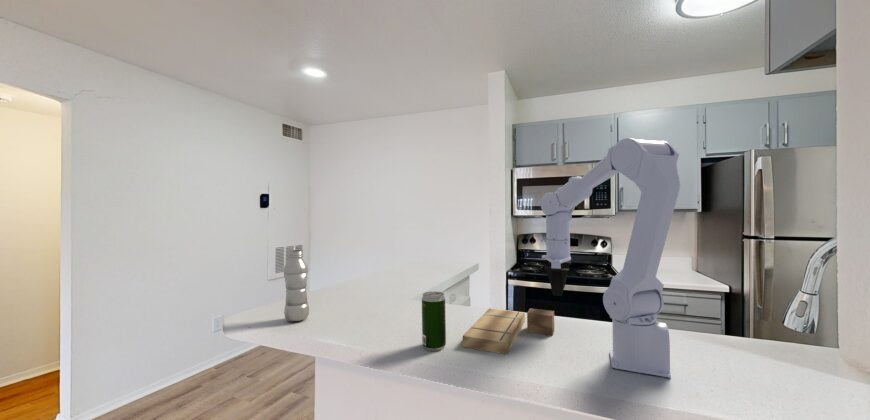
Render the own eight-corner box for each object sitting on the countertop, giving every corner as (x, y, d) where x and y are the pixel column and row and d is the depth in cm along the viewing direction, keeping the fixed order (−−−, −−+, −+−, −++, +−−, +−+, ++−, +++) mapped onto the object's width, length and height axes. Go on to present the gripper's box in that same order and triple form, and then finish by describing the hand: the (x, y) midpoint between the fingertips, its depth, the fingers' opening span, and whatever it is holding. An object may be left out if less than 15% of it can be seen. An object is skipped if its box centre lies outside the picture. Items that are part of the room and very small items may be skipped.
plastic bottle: (304, 324, 92) (302, 252, 91) (279, 324, 92) (278, 252, 92) (313, 316, 98) (311, 249, 98) (290, 316, 98) (289, 249, 98)
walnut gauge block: (554, 330, 84) (554, 311, 84) (552, 336, 81) (552, 315, 81) (530, 327, 87) (529, 308, 87) (527, 332, 83) (527, 312, 83)
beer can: (430, 353, 72) (429, 298, 72) (418, 345, 76) (417, 293, 76) (450, 347, 75) (449, 294, 74) (437, 340, 79) (436, 290, 79)
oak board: (524, 321, 91) (524, 312, 91) (506, 354, 71) (506, 342, 71) (489, 317, 95) (489, 308, 95) (462, 346, 75) (462, 335, 75)
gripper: (545, 236, 94) (545, 284, 94) (538, 241, 81) (538, 297, 81) (572, 237, 91) (572, 286, 91) (569, 242, 78) (570, 300, 78)
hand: (558, 291), depth 85 cm, fingers open, 7 cm apart
